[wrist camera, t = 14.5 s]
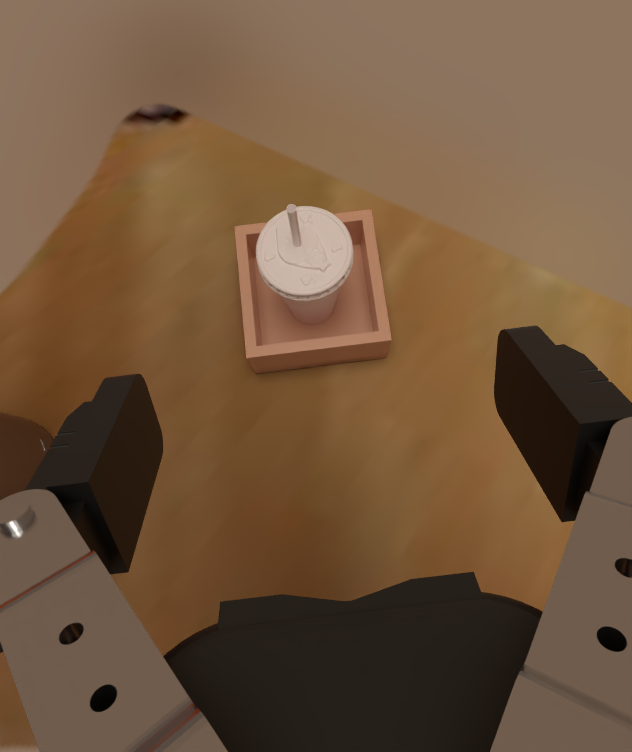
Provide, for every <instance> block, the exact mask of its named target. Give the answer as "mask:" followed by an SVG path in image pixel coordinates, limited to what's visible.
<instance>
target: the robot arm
mask: <svg viewBox="0 0 632 752" xmlns="http://www.w3.org/2000/svg"><path fill="white" fill-rule="evenodd" d="M494 398H495V404H496V408H497V411H498V414H499V416H500V418H501V420H502V421H503V423H504V425H505V426H506V428H507V430H508V431H509V433H510V435H511V437H512V438H513V440H514V442H515V443H516V445H517V447H518V449H519V450H520V452H521V454H522V455H523V457H524V459H525V460H526V462H527V464H528V466H529V467H530V469H531V471H532V472H533V474H534V476H535V477H536V479H537V481H538V483H539V484H540V486H541V488H542V489H543V491H544V493H545V494H546V496H547V498H548V500H549V501H550V503H551V505H552V506H553V508H554V510H555V511H556V513H557V515H558V517H559V518H560V520H561V522H567V521H575V523H574V525H573V528H572V531H571V534H570V537H569V540H568V542H567V545H566V548H565V551H564V554H563V557H562V559H561V562H560V565H559V568H558V571H557V574H556V576H555V579H554V582H553V585H552V588H551V591H550V593H549V596H548V599H547V602H546V605H545V608H544V610H543V612H542V611H540V610H539V609H537V608H534V607H532V606H530V605H527V604H525V603H523V602H520V601H517V600H514V599H511V598H508V597H505V596H500V595H496V594H491V593H484V592H481V591H480V588H479V585H478V583H477V580H476V577H475V574H474V572H468V573H460V574H451V575H443V576H434V577H426V578H418V579H410V580H408V581H405V582H402V583H400V584H397V585H394V586H391V587H389V588H386V589H383V590H380V591H378V592H375V593H372V594H369V595H367V596H364V597H361V598H358V599H356V600H352V601H335V600H326V599H317V598H309V597H300V596H291V595H283V594H282V595H274V596H265V597H257V598H248V599H240V600H231V601H223V602H220V611H219V620H218V623H217V624H214V625H212V626H209V627H207V628H205V629H203V630H201V631H199V632H197V633H195V634H193V635H192V636H190V637H189V638H187V639H185V640H184V641H182V642H181V643H179V644H178V645H177V646H175V647H174V648H173V649H172V650H170V651H169V652H168V653H167V654H165V655H164V656H162V654H161V653H160V651H159V650H158V648H157V647H156V645H155V643H154V642H153V640H152V639H151V637H150V636H149V634H148V633H147V631H146V630H145V628H144V626H143V625H142V623H141V622H140V620H139V619H138V617H137V616H136V614H135V612H134V611H133V609H132V608H131V606H130V605H129V603H128V602H127V600H126V599H125V597H124V595H123V594H122V592H121V591H120V589H119V588H118V586H117V585H116V583H115V582H114V580H113V578H112V577H111V575H110V574H117V573H125V572H129V568H130V565H131V561H132V558H133V555H134V551H135V548H136V544H137V541H138V537H139V534H140V531H141V527H142V524H143V520H144V517H145V513H146V510H147V507H148V503H149V500H150V496H151V493H152V489H153V486H154V483H155V479H156V476H157V472H158V469H159V465H160V462H161V459H162V454H163V437H162V432H161V428H160V425H159V422H158V419H157V416H156V413H155V410H154V406H153V403H152V400H151V397H150V394H149V391H148V388H147V385H146V382H145V380H144V378H143V377H142V375H140V374H133V375H125V376H117V377H108V378H105V379H104V380H103V382H102V384H101V385H100V387H99V389H98V391H97V393H96V395H95V397H94V398H93V400H92V401H91V402H84V403H83V404H82V405H80V406H79V407H78V408H77V409H76V410H75V411H74V412H72V413H71V414H70V415H69V416H68V417H67V418H66V420H65V421H64V423H63V425H62V427H61V428H60V430H59V432H58V436H56V437H55V439H54V440H53V439H52V438H51V436H50V435H49V434H48V433H47V432H46V431H45V430H44V429H43V428H42V427H41V426H39V425H37V424H36V423H34V422H32V421H29V420H26V419H23V418H19V417H16V416H12V415H8V414H5V413H1V412H0V653H1V652H3V651H4V654H5V656H6V659H7V662H8V665H9V668H10V670H11V673H12V676H13V679H14V682H15V684H16V687H17V690H18V693H19V695H20V698H21V701H22V704H23V707H24V709H25V712H26V715H27V718H28V721H29V723H30V726H31V729H32V732H33V734H34V737H35V740H36V743H37V746H38V748H39V751H40V752H632V403H631V402H630V401H629V400H628V399H627V398H626V397H625V396H624V395H623V394H622V392H621V391H620V390H619V389H618V388H617V387H616V386H615V385H614V384H613V383H612V382H609V381H608V378H607V377H606V376H605V375H604V374H603V373H602V372H601V371H598V368H597V367H596V366H595V365H594V364H593V363H592V362H591V361H590V360H589V359H588V358H587V357H586V356H585V355H584V354H582V353H580V352H578V351H576V350H574V349H572V348H570V347H568V346H566V345H564V344H562V345H555V344H554V343H553V342H552V341H551V340H550V339H549V337H548V336H547V335H546V334H545V333H544V332H543V331H542V330H541V329H540V328H539V327H538V326H528V327H520V328H512V329H504V330H501V331H500V333H499V336H498V344H497V357H496V371H495V384H494Z"/></svg>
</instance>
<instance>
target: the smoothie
mask: <svg viewBox="0 0 632 752" xmlns="http://www.w3.org/2000/svg"><path fill="white" fill-rule="evenodd" d="M256 259H257V263H258V268H259V272H260V274H261V276H262V278H263V280H264V282H265V283H266V284H267V285H268V286H269V287H270V288H271V289H272V290H273V291H274V292H276V293H278V294H279V295H280V297H281V298H282V300H283V301H284V303H285V304H286V306H287V307H288V308H289V310H290V311H291V313H292V314H293V316H294V317H295V318H296V319H297V320H298V321H300V322H302V323H304V324H308V325H315V324H319V323H322V322H324V321H325V320H327V319H328V318H329V317H330V315H331V314H332V312H333V310H334V306H335V303H336V300H337V297H338V294H339V291H340V287H341V285H342V284H343V283H344V281H345V280H346V278H347V277H348V275H349V273H350V270H351V267H352V264H353V246H352V240H351V236H350V234H349V232H348V230H347V228H346V226H345V225H344V224H343V222H342V221H341V220H340V219H339V218H337V217H336V216H335V215H333V214H332V213H330V212H328V211H326V210H324V209H321V208H317V207H311V206H300V207H296V206H295V205H293V204H290V205H288V206H287V210H285V211H283V212H281V213H279V214H277V215H276V216H274V217H273V218H272V219H271V220H270V221H269V222H268V223H267V224H266V225H265V227H264V228H263V229H262V231H261V233H260V235H259V238H258V241H257V245H256Z"/></svg>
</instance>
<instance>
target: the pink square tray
mask: <svg viewBox="0 0 632 752" xmlns="http://www.w3.org/2000/svg"><path fill="white" fill-rule="evenodd" d="M333 215H335V216H336V217H337V218H339V219H340V220H341V221H342V222H343V224H344V225H345V226H346V228H347V230H348V232H349V234H350V236H351V240H352V246H353V264H352V267H351V270H350V273H349V275H348V277H347V278H346V280H345V281H344V283H343V284H342V285H341V287H340V291H339V294H338V297H337V300H336V303H335V306H334V310H333V312H332V314H331V315H330V317H329V318H328V319H327V320H325V321H324V322H322V323H319V324H315V325H308V324H304V323H302V322H300V321H298V320H297V319H296V318H295V317H294V316H293V314H292V313H291V311H290V310H289V308H288V307H287V306H286V304H285V303H284V301H283V300H282V298H281V297H280V295H279V294H278V293H276V292H274V291H273V290H272V289H271V288H270V287H269V286H268V285H267V284H266V283H265V282H264V280H263V278H262V276H261V274H260V272H259V268H258V263H257V259H256V245H257V241H258V238H259V235H260V233H261V231H262V229H263V228H264V227H265V225H266V224H267V223H268V222H266V223H258V224H250V225H242V226H235V236H236V247H237V258H238V269H239V281H240V292H241V303H242V314H243V325H244V336H245V347H246V358H247V360H248V361H249V363H250V364H251V366H252V368H253V369H254V371H255V372H256V374H261V373H269V372H277V371H285V370H294V369H302V368H310V367H318V366H326V365H334V364H342V363H350V362H359V361H367V360H375V359H383V358H386V356H387V353H388V350H389V346H390V343H391V333H390V327H389V320H388V314H387V308H386V301H385V295H384V288H383V282H382V276H381V269H380V263H379V256H378V250H377V244H376V237H375V231H374V224H373V218H372V212H371V209H369V210H361V211H353V212H345V213H337V214H333Z"/></svg>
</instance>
